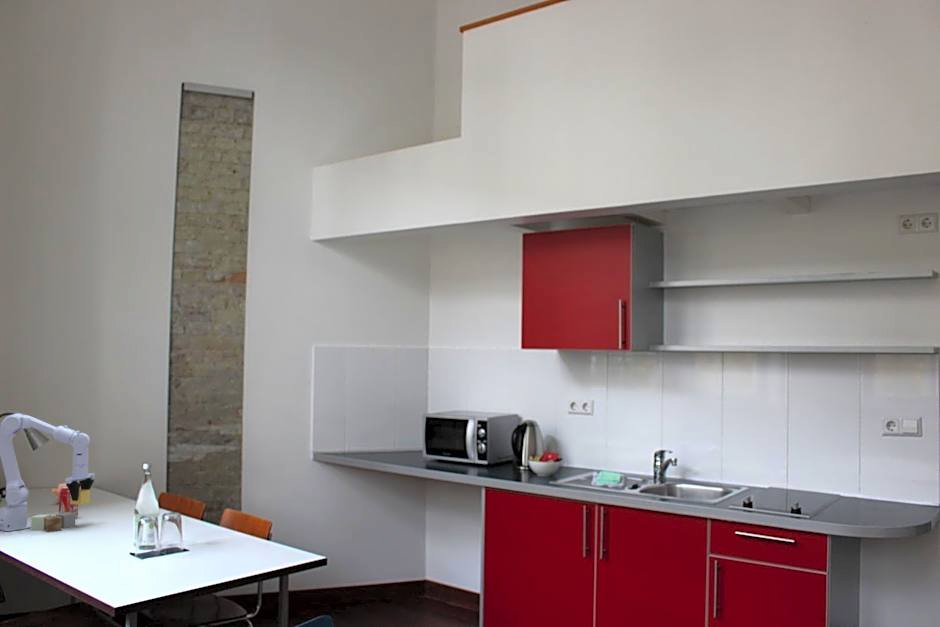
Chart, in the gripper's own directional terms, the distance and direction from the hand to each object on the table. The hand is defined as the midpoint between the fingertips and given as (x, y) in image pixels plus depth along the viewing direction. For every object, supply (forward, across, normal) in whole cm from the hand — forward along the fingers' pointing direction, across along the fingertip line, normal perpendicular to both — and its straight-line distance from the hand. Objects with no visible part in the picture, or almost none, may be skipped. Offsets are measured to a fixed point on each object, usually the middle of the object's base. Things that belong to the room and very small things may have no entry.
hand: (79, 499), depth 345 cm
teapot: (+11, +40, +38) cm, 56 cm away
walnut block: (+10, -10, +4) cm, 15 cm away
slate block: (+10, -2, +4) cm, 12 cm away
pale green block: (+10, -8, +11) cm, 17 cm away
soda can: (+11, +11, +14) cm, 21 cm away
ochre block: (+2, 0, 0) cm, 2 cm away
